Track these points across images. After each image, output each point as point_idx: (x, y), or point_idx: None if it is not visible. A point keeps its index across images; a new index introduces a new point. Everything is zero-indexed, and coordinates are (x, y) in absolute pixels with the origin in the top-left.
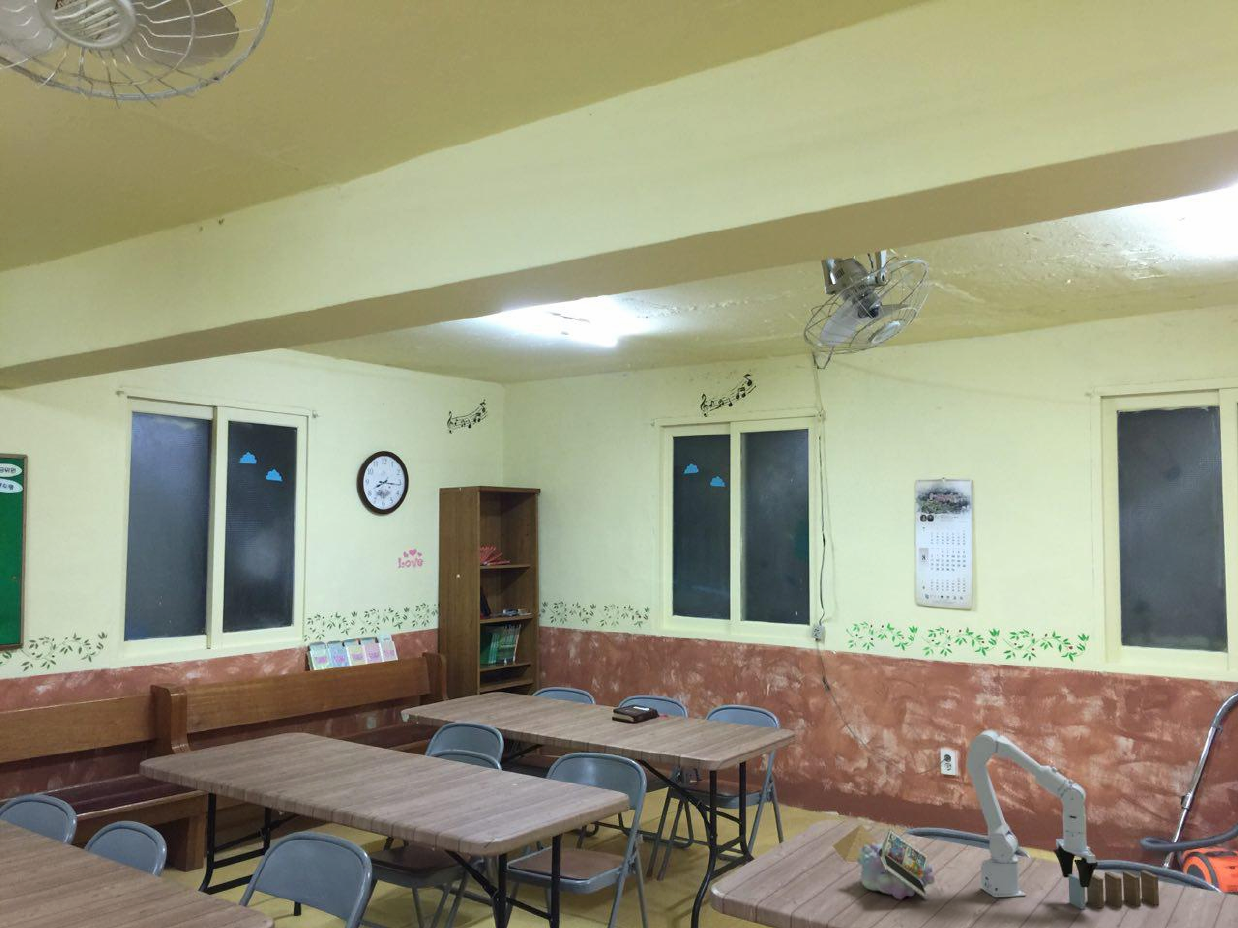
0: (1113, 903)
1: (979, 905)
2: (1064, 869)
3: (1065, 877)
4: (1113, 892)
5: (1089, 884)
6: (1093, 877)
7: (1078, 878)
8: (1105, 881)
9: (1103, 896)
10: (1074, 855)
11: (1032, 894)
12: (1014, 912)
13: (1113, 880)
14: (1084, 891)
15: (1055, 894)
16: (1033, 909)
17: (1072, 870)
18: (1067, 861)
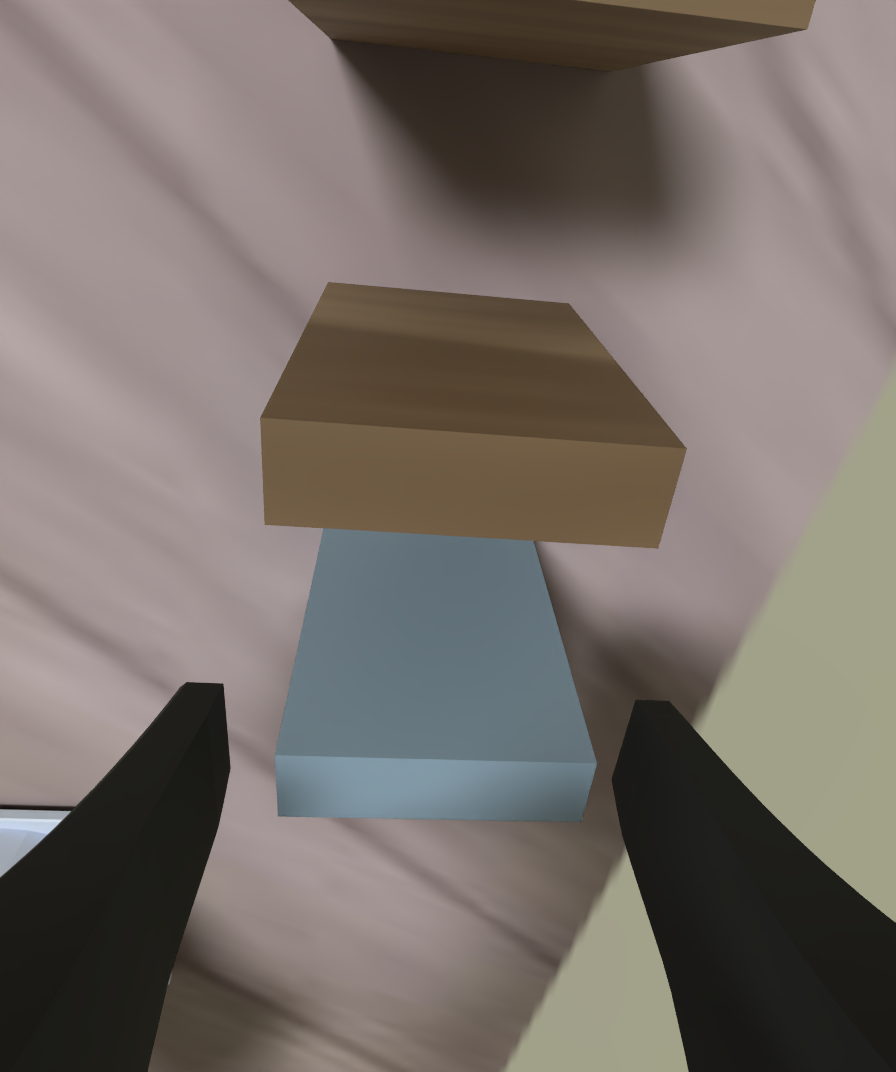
0: (516, 58)
1: (299, 1062)
2: (196, 876)
3: (228, 759)
4: (554, 45)
5: (690, 725)
6: (507, 532)
7: (503, 795)
8: (307, 2)
9: (599, 342)
10: (46, 1026)
11: (90, 743)
12: (450, 980)
13: (627, 21)
14: (560, 647)
15: (84, 559)
16: (430, 881)
17: (190, 748)
18: (130, 976)
